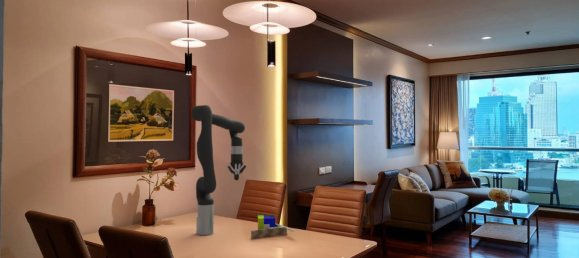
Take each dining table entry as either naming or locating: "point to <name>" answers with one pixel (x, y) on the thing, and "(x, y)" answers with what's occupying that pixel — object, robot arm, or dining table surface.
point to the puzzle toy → (266, 221)
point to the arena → (270, 232)
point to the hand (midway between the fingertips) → (236, 180)
